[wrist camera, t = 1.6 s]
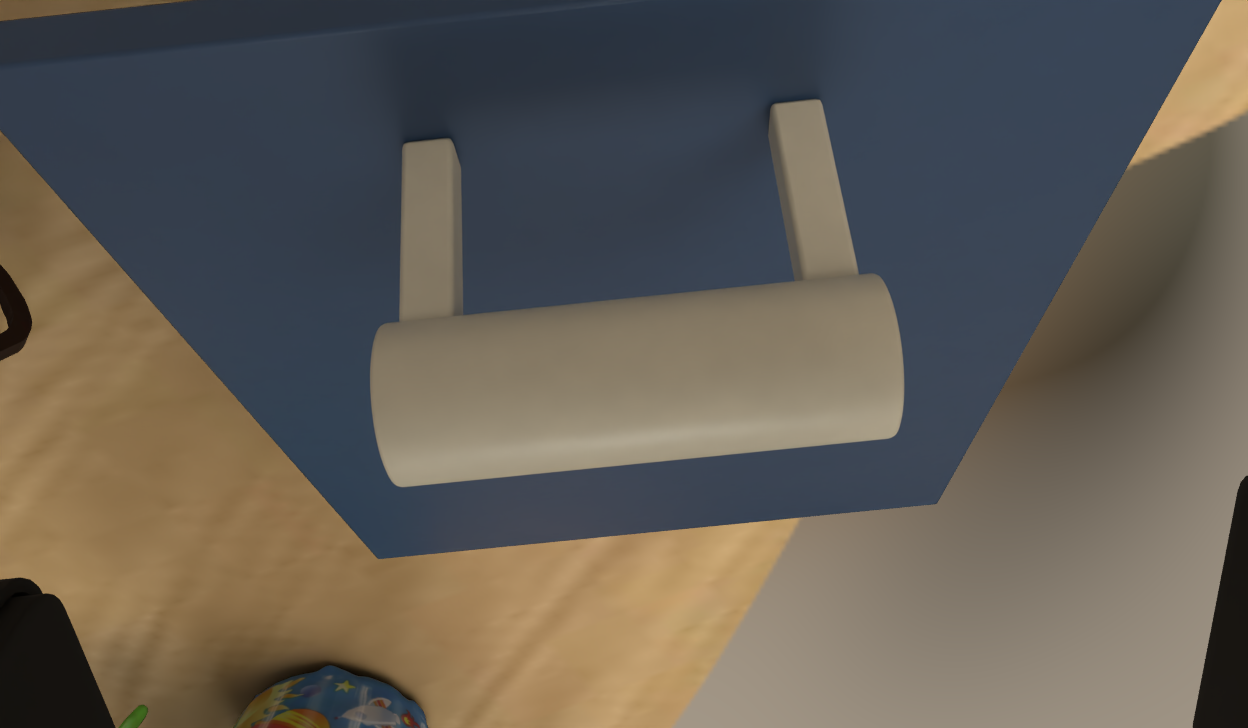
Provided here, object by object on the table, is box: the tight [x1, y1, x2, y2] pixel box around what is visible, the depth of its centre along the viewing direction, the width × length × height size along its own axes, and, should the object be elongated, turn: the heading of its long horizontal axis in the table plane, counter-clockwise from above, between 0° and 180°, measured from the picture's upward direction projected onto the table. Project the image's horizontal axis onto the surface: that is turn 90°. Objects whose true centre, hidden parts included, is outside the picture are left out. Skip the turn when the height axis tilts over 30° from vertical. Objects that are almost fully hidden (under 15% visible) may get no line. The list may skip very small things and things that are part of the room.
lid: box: [0, 0, 1221, 559], centre depth 20 cm, size 19×16×6 cm
